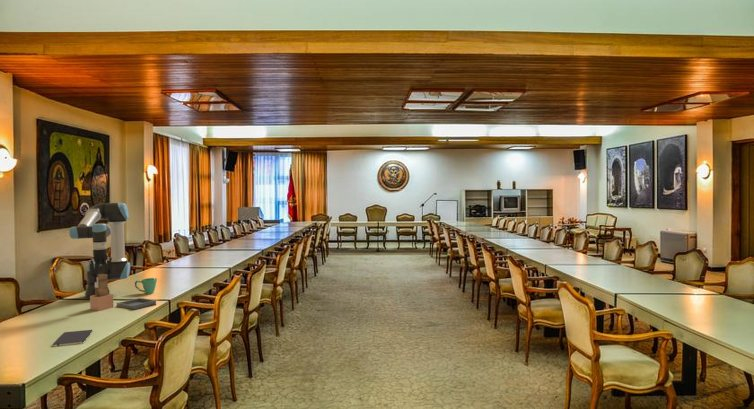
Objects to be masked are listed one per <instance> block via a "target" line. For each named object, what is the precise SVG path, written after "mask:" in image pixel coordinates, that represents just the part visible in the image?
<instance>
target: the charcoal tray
mask: <svg viewBox="0 0 754 409" xmlns="http://www.w3.org/2000/svg"><path fill="white" fill-rule="evenodd" d="M156 305H157V300H156V299H148V298H143V297H138V298H133V299H129V300H125V301H120V302H117V303H116V307H119V308H124V309H129V310H131V311H133V312H134V311H137V310H141V309H145V308H150V307H153V306H156Z"/></svg>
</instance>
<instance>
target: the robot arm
mask: <svg viewBox="0 0 754 409" xmlns="http://www.w3.org/2000/svg"><path fill="white" fill-rule="evenodd" d="M129 216H130V212H129V208H128V206H127V204H126V203H125V202H106V203H104V202H102V203H97V204H94V205H93V206H91V207H89V208H88V209H87V210H86V212H85V213H84V216H83V218H82V219H81V220H80V222H79V224H77V226H71V227H70V229H69V232H68V233H69V237H70V239H73V240H75V239H76V240H79V239H82V240H83V239H92V249H93V250H92V255H93V257H92V259H89V260H88V261H87V262H88V265H87V267H86V280H87V281H86V282H87V286H86V288H85V293H84V297H85V298H87V299H88V298H89V299H90V296H92V295H95V287H96V288H98V287H99V283H98V277H97V275H98V274H107V280H108V281H112V280H115V281H116V280H127V279H128V277H129V276H130V273H131V262H129V261H128V259H127V258H126V248H125V246H126V245H125V244H126V243H125V223H127V220H128V219H129ZM103 220H104V221H105V220H107V224H109V225H107V224H106V223H97V222H99V221H103ZM108 237H110V254H111V255H110V256H111V257H109V256H108V249H107V248H108V243H107V242H108V241H107V240H108ZM108 294H111V292H110V289H109V287H108Z"/></svg>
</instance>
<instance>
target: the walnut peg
mask: <svg viewBox="0 0 754 409" xmlns="http://www.w3.org/2000/svg"><path fill="white" fill-rule="evenodd" d="M97 277H98V283H99V287H98V288H96V287H95V296H97V297H101V296H106V295H108V288H109V286H108V281H109V280H107V274H98V275H97Z"/></svg>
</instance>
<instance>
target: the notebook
mask: <svg viewBox="0 0 754 409" xmlns="http://www.w3.org/2000/svg"><path fill="white" fill-rule="evenodd" d="M91 332H93V329H87V330H75V331H73V330H72V331H64V332H63V333H62V334H61V335H60V336H59V337H58V338H57V339H56V340H55V341H54V342H52V347H61V346H60V345H63V346H69V345H68V344H73V345H78V344H77V343H82V344H84V343H85V342H86V340H87V339H88V338H89V336H90V335H91V334H92V333H91ZM90 333H91V334H90ZM87 337H88V338H87ZM86 338H87V339H86ZM84 341H85V342H84ZM83 342H84V343H83Z"/></svg>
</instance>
